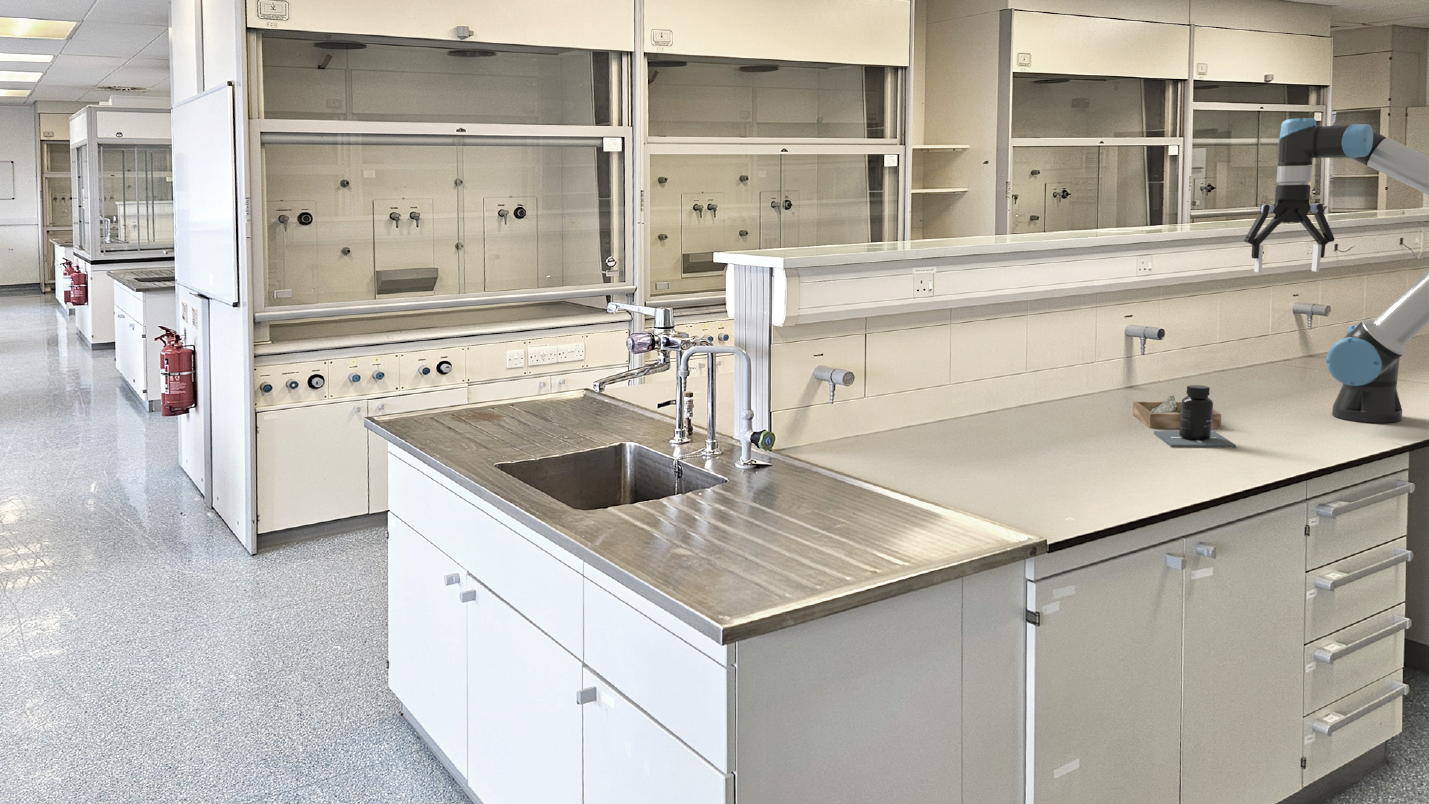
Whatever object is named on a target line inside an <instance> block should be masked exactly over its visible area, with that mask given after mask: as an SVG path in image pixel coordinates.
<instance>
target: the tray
mask: <svg viewBox="0 0 1429 804" xmlns="http://www.w3.org/2000/svg"><path fill="white" fill-rule="evenodd" d="M1164 402H1165V401H1133V403H1132V416H1133V417H1135V418H1136V419H1137V420H1139V421H1140V423H1142V424H1144V425H1145V426H1147V427H1148V428H1149V429H1179V427H1180V413H1181V401H1175V402H1176V404H1177V407H1178V412H1179V413H1152V412H1150V411H1151V410H1152V409H1153V408H1156V407H1158V406H1159V405H1161V404H1162V403H1164ZM1221 421H1222V414H1221V413H1220V412H1219V411H1216V409H1213V414H1212V428H1211V429H1221V427H1222V426H1221V423H1222V422H1221Z"/></svg>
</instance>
